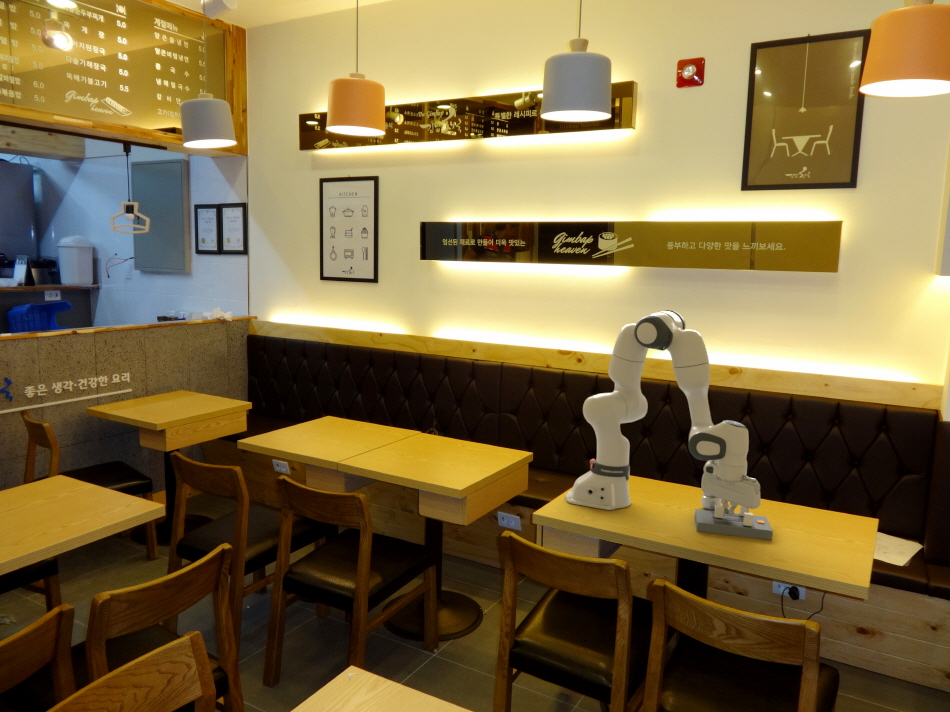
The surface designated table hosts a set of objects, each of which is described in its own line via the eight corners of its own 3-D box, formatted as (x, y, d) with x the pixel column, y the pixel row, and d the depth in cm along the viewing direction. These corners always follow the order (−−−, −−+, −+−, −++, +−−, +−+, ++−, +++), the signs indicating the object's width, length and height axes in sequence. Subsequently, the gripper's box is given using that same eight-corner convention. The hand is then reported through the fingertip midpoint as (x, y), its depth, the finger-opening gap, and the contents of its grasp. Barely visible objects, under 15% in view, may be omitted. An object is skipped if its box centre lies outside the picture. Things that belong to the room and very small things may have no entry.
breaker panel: (696, 531, 219) (697, 521, 219) (694, 517, 232) (695, 507, 232) (771, 540, 214) (772, 529, 214) (765, 525, 227) (765, 515, 226)
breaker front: (743, 525, 217) (744, 514, 216) (743, 523, 219) (744, 512, 218) (752, 526, 216) (753, 515, 216) (751, 523, 218) (752, 513, 218)
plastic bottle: (717, 506, 244) (722, 450, 242) (722, 513, 238) (727, 455, 235) (698, 505, 245) (703, 449, 242) (703, 511, 238) (707, 454, 236)
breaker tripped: (715, 517, 223) (715, 506, 223) (714, 515, 225) (715, 504, 225) (722, 518, 222) (723, 507, 222) (722, 516, 224) (723, 505, 224)
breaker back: (740, 515, 225) (741, 505, 225) (739, 513, 227) (740, 503, 227) (748, 516, 225) (749, 506, 224) (747, 514, 227) (748, 504, 226)
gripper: (766, 479, 214) (763, 522, 216) (712, 462, 232) (709, 503, 233) (753, 481, 211) (750, 526, 213) (699, 465, 228) (696, 506, 230)
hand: (728, 513), depth 223 cm, fingers closed
